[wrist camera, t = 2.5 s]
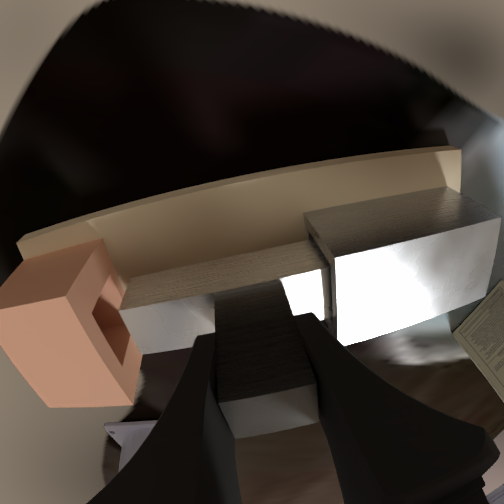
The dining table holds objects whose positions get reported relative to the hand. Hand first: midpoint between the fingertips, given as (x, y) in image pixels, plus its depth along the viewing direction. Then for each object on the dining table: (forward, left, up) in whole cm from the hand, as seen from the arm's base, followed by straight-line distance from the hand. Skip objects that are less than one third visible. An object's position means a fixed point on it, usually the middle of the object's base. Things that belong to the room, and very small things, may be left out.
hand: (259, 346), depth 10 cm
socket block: (0, +9, -6) cm, 11 cm away
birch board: (0, 0, -6) cm, 6 cm away
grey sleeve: (0, -7, -5) cm, 9 cm away
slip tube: (0, -3, -4) cm, 5 cm away
